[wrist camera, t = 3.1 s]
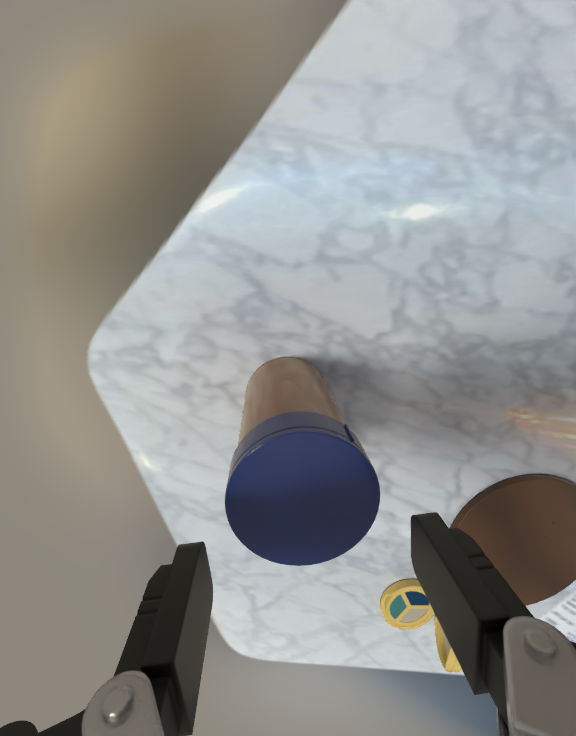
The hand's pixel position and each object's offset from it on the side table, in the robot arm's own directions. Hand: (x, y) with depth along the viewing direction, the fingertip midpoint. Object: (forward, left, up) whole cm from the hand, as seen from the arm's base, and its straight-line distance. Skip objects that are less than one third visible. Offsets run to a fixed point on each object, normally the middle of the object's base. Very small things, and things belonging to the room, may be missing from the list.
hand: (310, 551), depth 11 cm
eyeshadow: (+7, +19, -13) cm, 24 cm away
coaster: (-2, +22, -13) cm, 26 cm away
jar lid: (0, 0, -2) cm, 3 cm away
